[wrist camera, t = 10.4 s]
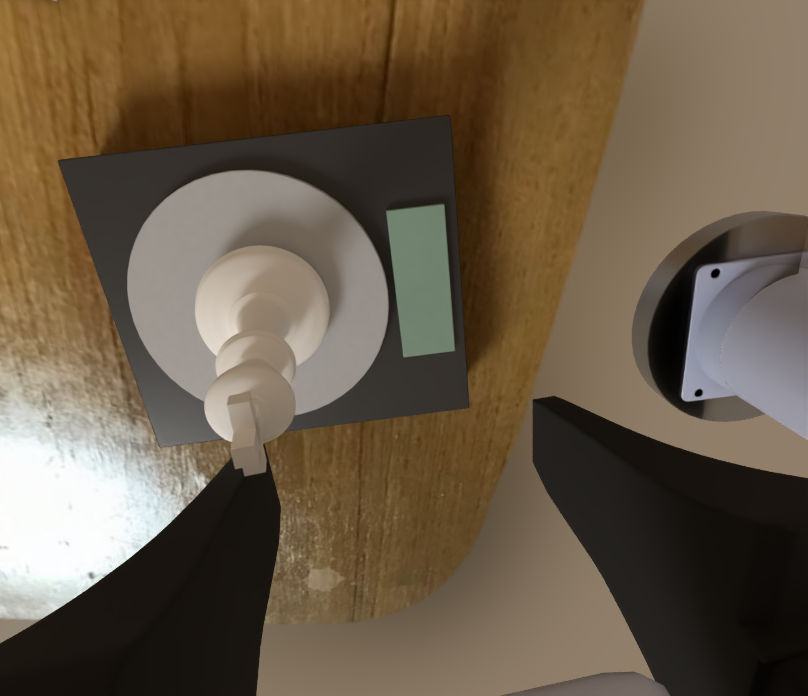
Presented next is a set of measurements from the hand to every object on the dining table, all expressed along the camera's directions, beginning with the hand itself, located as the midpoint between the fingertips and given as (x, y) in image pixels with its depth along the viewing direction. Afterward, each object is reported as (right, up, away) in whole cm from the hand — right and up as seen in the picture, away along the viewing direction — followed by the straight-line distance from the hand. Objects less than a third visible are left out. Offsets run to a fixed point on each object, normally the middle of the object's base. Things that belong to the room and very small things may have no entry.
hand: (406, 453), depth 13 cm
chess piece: (-5, +4, +6) cm, 9 cm away
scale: (-5, +6, +9) cm, 11 cm away
